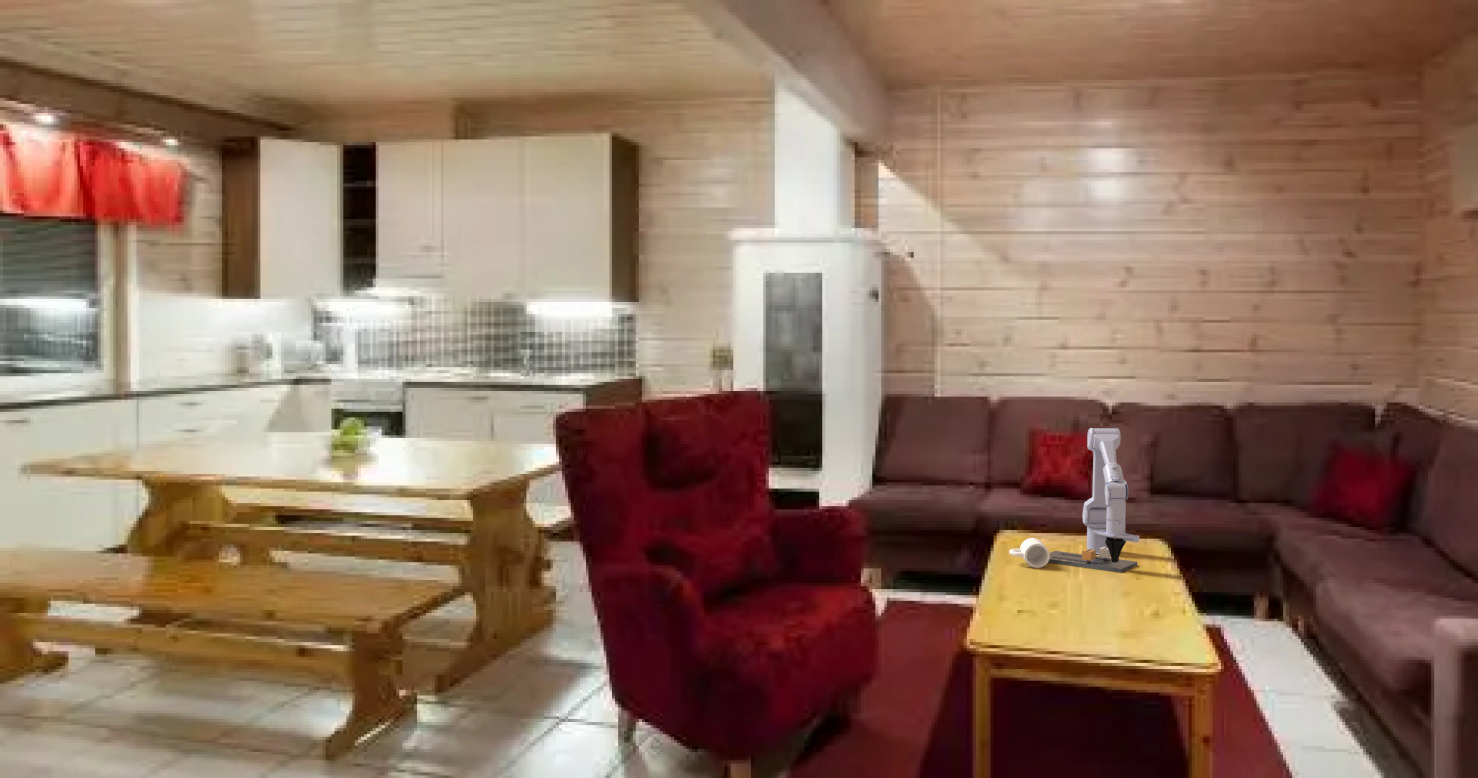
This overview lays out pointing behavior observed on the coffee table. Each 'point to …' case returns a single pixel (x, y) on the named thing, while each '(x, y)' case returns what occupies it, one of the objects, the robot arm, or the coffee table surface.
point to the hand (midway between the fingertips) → (1115, 562)
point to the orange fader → (1088, 554)
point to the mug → (1032, 552)
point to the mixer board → (1097, 563)
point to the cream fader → (1104, 552)
